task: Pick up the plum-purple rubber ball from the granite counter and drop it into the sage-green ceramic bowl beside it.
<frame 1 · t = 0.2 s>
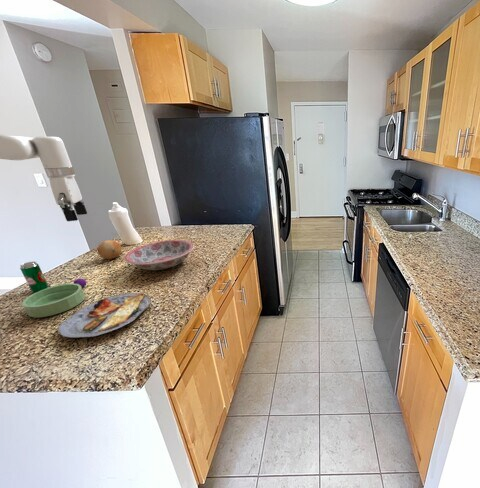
hand: (77, 217, 102), 30 cm above the countertop, tool pointing down, fingers open, 9 cm apart
ceramic bowl: (165, 265, 129), on the countertop
green bowl: (58, 305, 98), on the countertop
white squeeze bottle: (131, 243, 157), on the countertop
ball: (79, 283, 109), point 2 cm above the countertop
soda can: (40, 289, 108), on the countertop
food plate: (110, 317, 91), on the countertop
onion: (112, 258, 137), on the countertop
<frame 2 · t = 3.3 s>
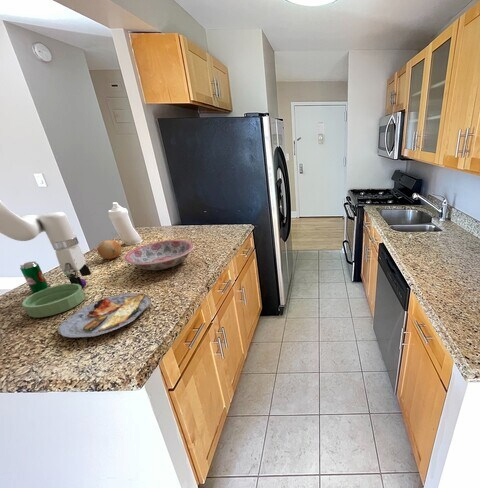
hand: (82, 280, 109), 3 cm above the countertop, tool pointing down, fingers open, 9 cm apart
nothing on the countertop moved.
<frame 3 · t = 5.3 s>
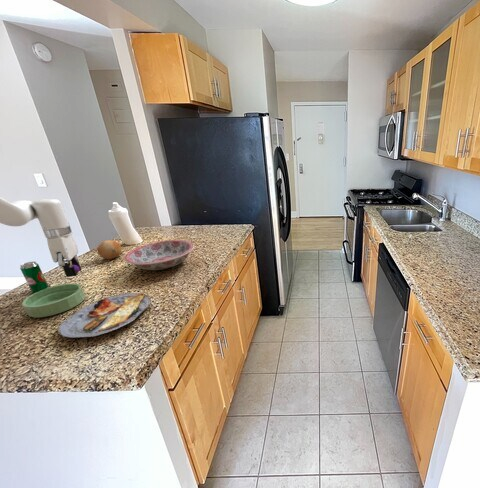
hand: (74, 273, 107), 7 cm above the countertop, tool pointing down, fingers closed on ball, 3 cm apart
ball: (72, 269, 106), point 9 cm above the countertop, touching gripper
everything else where it was.
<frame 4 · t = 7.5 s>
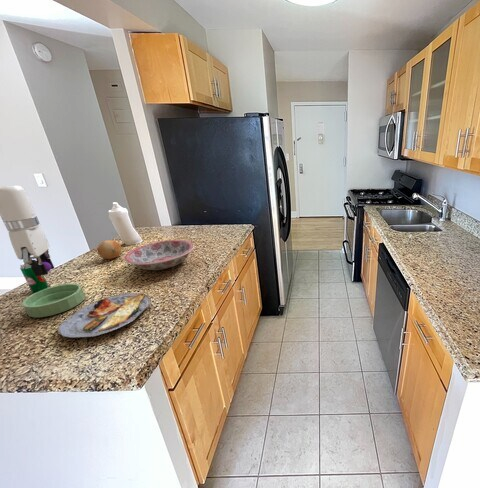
hand: (45, 271, 93), 14 cm above the countertop, tool pointing down, fingers closed on ball, 3 cm apart
ball: (43, 267, 93), point 16 cm above the countertop, touching gripper
everything else where it was.
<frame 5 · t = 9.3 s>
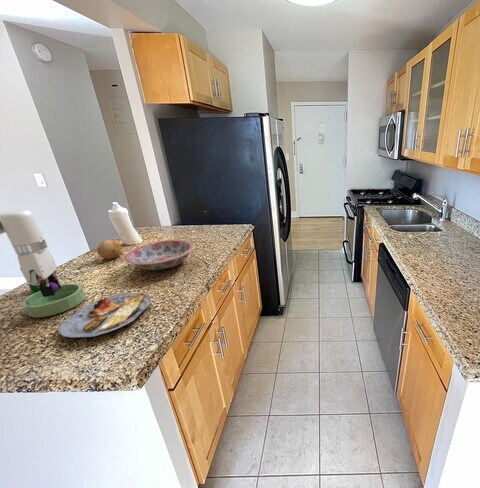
hand: (52, 292, 95), 6 cm above the countertop, tool pointing down, fingers closed on ball, 3 cm apart
ball: (50, 288, 95), point 8 cm above the countertop, touching gripper
everything else where it was.
when the fingers open (2 cm above the countertop, at t = 10.7 s): ball drops 1 cm, resting on green bowl.
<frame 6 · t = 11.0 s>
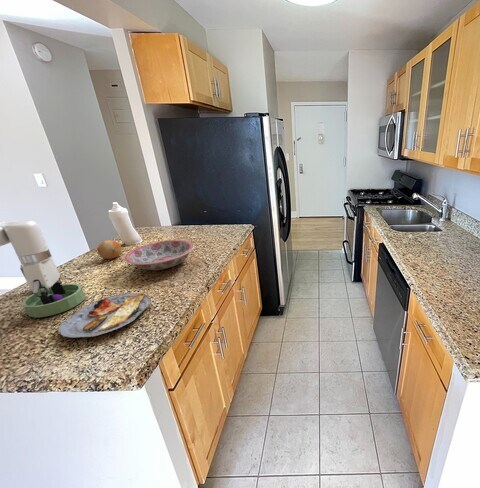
hand: (55, 299, 97), 3 cm above the countertop, tool pointing down, fingers open, 7 cm apart
ball: (55, 299, 97), point 3 cm above the countertop, touching green bowl
everything else where it was.
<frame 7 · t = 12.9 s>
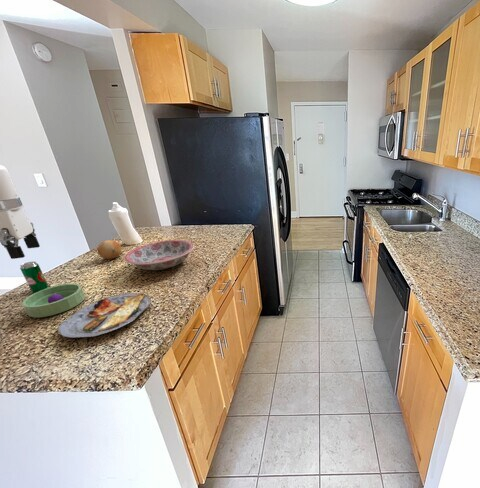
hand: (26, 252, 91), 21 cm above the countertop, tool pointing down, fingers open, 9 cm apart
nothing on the countertop moved.
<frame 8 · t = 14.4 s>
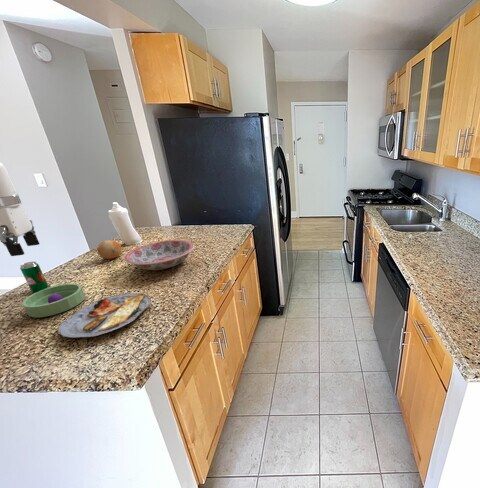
hand: (26, 249, 91), 22 cm above the countertop, tool pointing down, fingers open, 9 cm apart
nothing on the countertop moved.
at the end: ball inside the target area in the green bowl (0.0 cm from its centre), point 2.6 cm above the green bowl's base; the gripper is holding nothing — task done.
